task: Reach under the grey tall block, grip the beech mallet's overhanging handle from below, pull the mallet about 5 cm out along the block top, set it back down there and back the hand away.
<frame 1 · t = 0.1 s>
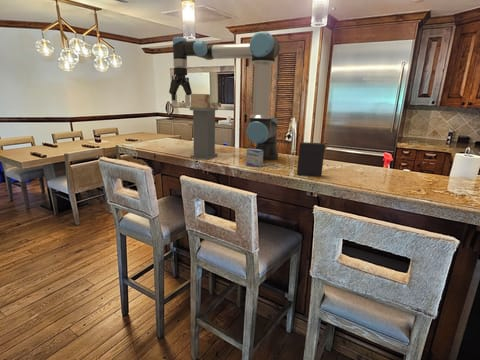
hand: (181, 106, 168), 28 cm above the countertop, tool pointing down, fingers open, 13 cm apart
mallet: (200, 107, 155), point 28 cm above the countertop, touching grey tall block
calculator: (308, 175, 133), on the countertop
medicine box: (254, 166, 149), on the countertop
grey tall block: (204, 156, 166), on the countertop
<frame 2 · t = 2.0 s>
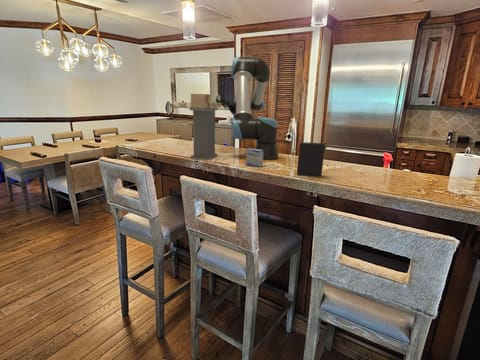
hand: (225, 94, 183), 36 cm above the countertop, tool pointing upward, fingers open, 13 cm apart
nothing on the countertop moved.
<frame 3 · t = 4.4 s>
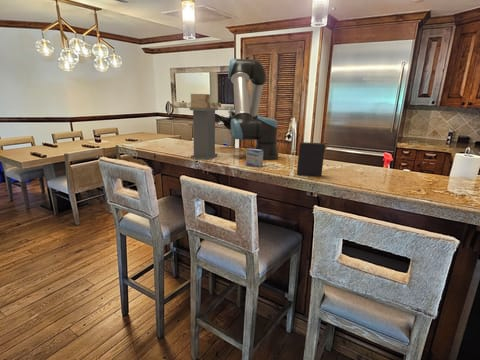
hand: (219, 109, 177), 26 cm above the countertop, tool pointing upward, fingers open, 13 cm apart
nothing on the countertop moved.
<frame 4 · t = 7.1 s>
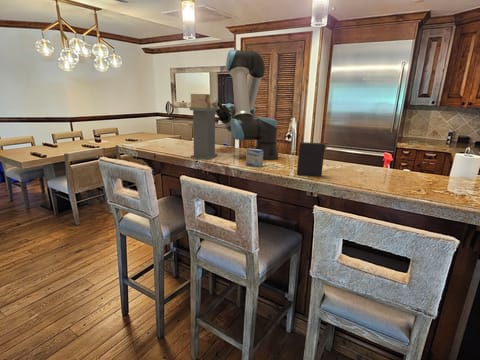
hand: (212, 99, 166), 32 cm above the countertop, tool pointing upward, fingers closed on mallet, 2 cm apart
mallet: (200, 107, 155), point 28 cm above the countertop, touching gripper, grey tall block
everything else where it was.
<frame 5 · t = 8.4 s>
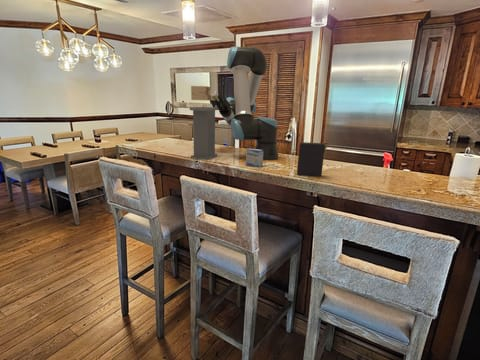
hand: (212, 92, 165), 36 cm above the countertop, tool pointing upward, fingers closed on mallet, 2 cm apart
mallet: (201, 100, 154), point 32 cm above the countertop, touching gripper
everything else where it was.
when the fingers open (33 cm above the countertop, at t = 10.1 s): mallet stays where it is, resting on grey tall block.
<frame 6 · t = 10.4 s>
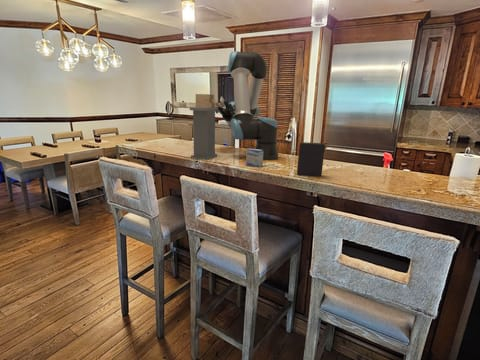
hand: (216, 98, 171), 33 cm above the countertop, tool pointing upward, fingers open, 6 cm apart
mallet: (205, 107, 159), point 28 cm above the countertop, touching grey tall block
everything else where it was.
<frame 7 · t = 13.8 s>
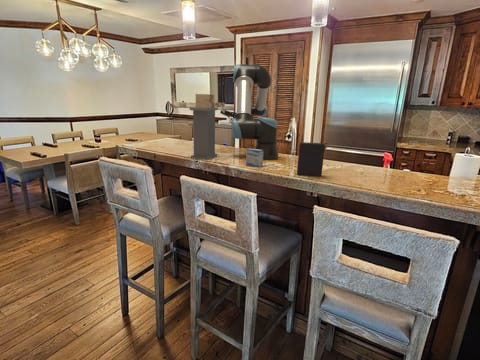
hand: (230, 108, 190), 27 cm above the countertop, tool pointing upward, fingers open, 13 cm apart
nothing on the countertop moved.
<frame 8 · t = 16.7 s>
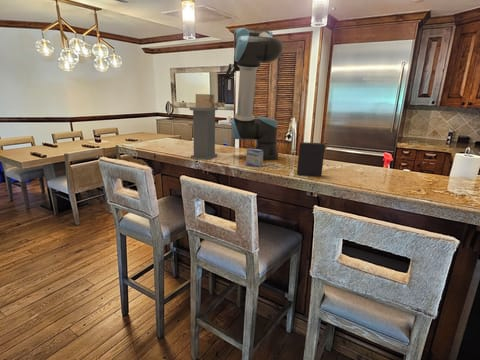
hand: (238, 90, 191), 39 cm above the countertop, tool pointing down, fingers open, 13 cm apart
nothing on the countertop moved.
at the end: mallet moved 5.1 cm from its start; mallet point 28.0 cm above the countertop; the gripper is holding nothing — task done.
